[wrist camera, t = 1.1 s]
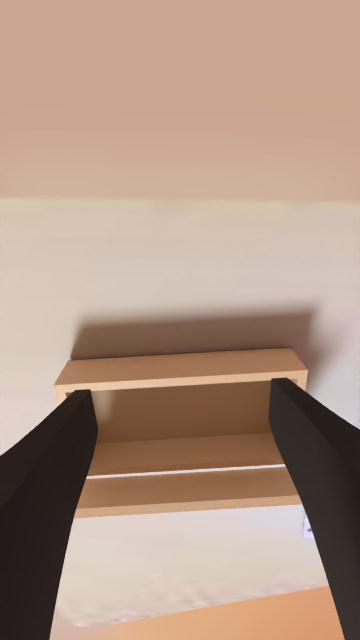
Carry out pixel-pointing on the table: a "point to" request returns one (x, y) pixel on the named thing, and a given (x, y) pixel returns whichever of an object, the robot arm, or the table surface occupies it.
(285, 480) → the lid flap
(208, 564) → the table surface
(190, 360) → the carton
